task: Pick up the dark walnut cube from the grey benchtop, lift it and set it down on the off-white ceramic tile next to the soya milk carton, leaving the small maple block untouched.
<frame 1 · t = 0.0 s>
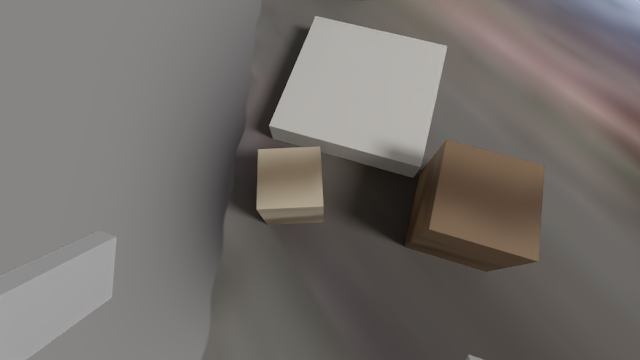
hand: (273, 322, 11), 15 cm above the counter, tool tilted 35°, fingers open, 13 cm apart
walnut cube: (450, 220, 28), on the counter
tile: (359, 99, 33), on the counter
maple block: (294, 196, 29), on the counter
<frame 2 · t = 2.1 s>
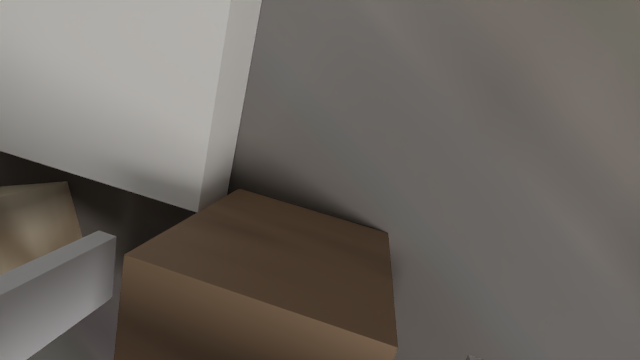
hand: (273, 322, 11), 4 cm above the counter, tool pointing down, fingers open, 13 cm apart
walnut cube: (294, 276, 15), on the counter
tile: (104, 0, 14), on the counter
maple block: (42, 228, 17), on the counter
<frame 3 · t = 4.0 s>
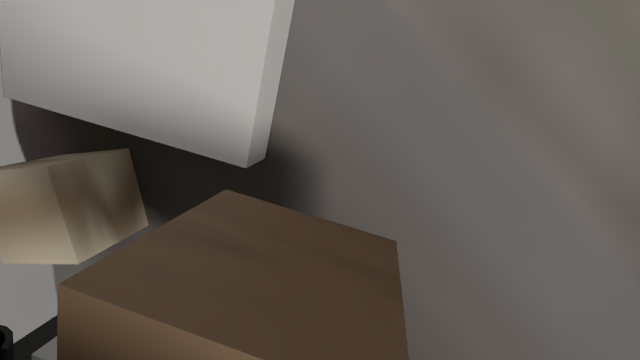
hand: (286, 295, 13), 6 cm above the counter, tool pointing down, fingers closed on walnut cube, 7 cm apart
walnut cube: (289, 289, 13), point 5 cm above the counter, touching gripper
maple block: (106, 189, 20), on the counter
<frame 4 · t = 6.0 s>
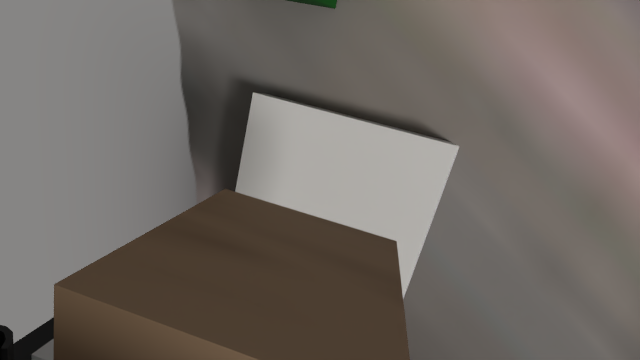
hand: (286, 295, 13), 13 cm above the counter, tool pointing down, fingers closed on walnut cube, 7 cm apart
walnut cube: (289, 289, 13), point 12 cm above the counter, touching gripper
tile: (331, 204, 25), on the counter
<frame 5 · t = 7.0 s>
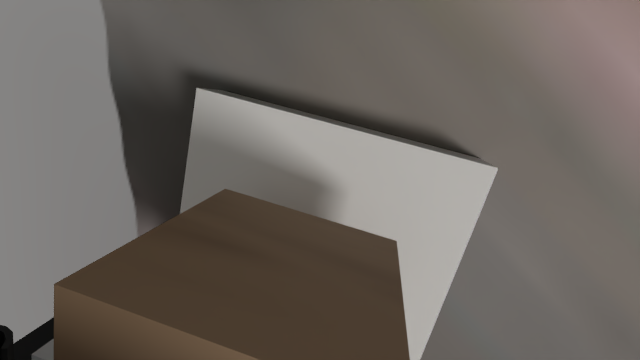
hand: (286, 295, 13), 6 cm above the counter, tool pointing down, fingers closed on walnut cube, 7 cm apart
walnut cube: (289, 289, 13), point 5 cm above the counter, touching gripper
tile: (313, 241, 18), on the counter
when the fingers open (3 cm above the counter, at t = 8.0 s): walnut cube stays where it is, resting on tile.
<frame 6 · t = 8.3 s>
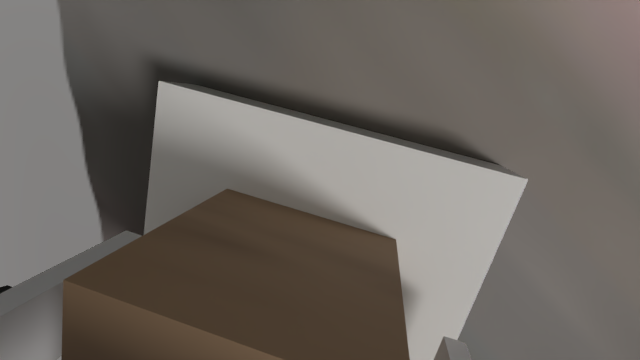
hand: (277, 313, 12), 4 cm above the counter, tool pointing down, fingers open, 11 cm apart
walnut cube: (290, 287, 13), point 2 cm above the counter, touching tile
tile: (303, 260, 16), on the counter
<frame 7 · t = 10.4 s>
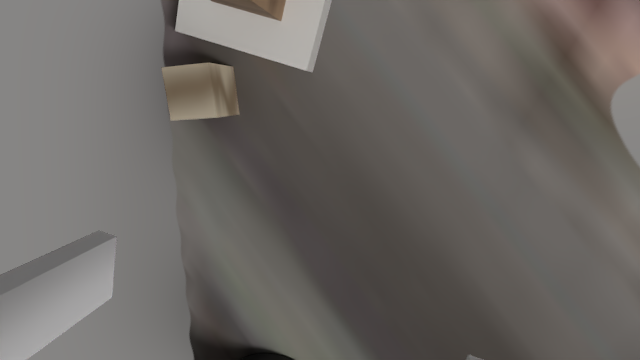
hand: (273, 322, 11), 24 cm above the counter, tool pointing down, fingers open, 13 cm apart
maple block: (215, 92, 35), on the counter
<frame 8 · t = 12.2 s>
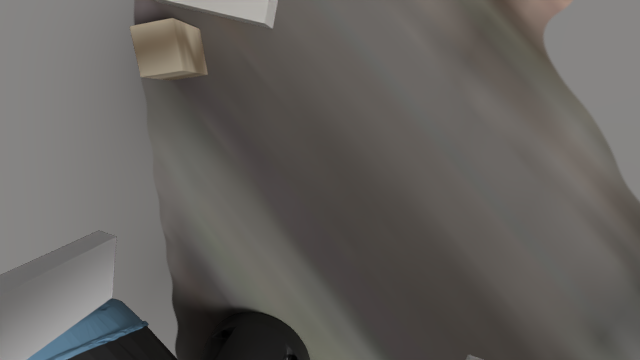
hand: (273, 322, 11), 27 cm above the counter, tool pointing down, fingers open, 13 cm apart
maple block: (184, 55, 37), on the counter
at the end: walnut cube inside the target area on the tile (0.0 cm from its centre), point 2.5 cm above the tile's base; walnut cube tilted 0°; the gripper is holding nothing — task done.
